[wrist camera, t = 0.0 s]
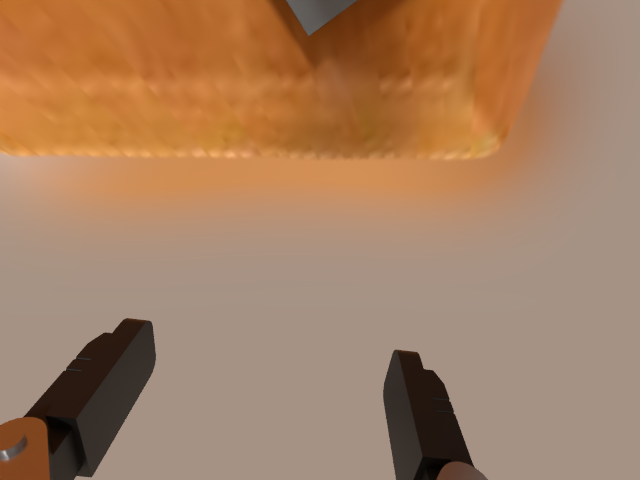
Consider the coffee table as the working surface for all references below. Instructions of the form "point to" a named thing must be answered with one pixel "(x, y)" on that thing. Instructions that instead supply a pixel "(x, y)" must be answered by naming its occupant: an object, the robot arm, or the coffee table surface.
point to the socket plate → (317, 12)
